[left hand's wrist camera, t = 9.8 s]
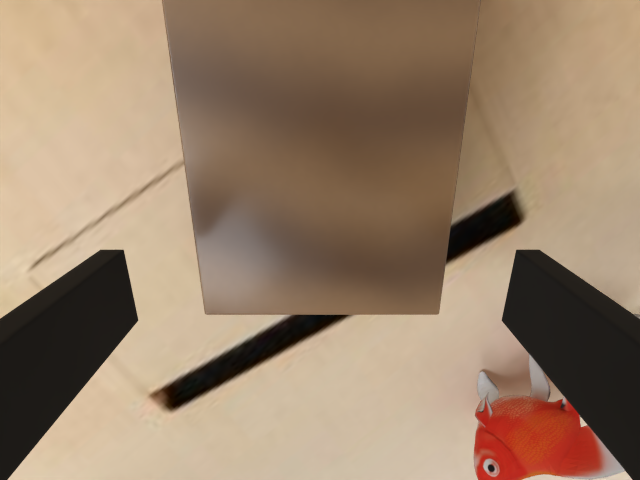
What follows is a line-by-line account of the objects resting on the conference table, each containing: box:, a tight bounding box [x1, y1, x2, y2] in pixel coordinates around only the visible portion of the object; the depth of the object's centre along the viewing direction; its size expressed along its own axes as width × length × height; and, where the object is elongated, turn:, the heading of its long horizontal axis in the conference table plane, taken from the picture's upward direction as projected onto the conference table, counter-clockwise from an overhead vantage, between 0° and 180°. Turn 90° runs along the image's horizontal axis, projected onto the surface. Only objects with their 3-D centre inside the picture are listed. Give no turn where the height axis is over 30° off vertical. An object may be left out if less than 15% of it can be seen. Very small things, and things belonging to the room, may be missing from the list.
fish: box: [474, 314, 640, 480], centre depth 25 cm, size 11×16×10 cm
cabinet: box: [162, 0, 481, 315], centre depth 18 cm, size 20×11×8 cm, turn 0°
